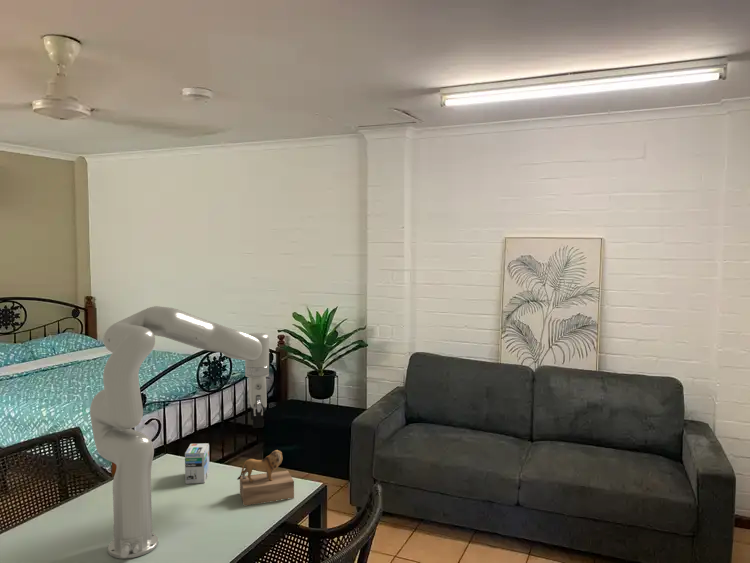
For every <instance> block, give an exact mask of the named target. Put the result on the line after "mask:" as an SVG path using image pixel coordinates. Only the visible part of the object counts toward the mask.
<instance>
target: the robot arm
mask: <svg viewBox="0 0 750 563" xmlns="http://www.w3.org/2000/svg"><path fill="white" fill-rule="evenodd" d="M155 336H157V337H162V338H166V339H169V340H172V341H176V342H177V343H182V344H184V345H188V346H191V347H193V348H197V349H201V350H204V351H208V352H216V353H221V354H223V356H225V357H227V358H229V359H234V360H241V361H245V362H244V364H245V371H244V375H245V377H247V378H248V394H249V395H248V396H249V404H250V406H251V407H250V420H252V428H253V429H260V428H264V410H263V408H267V405H268V403H267V401H268V400H267V399H268V398H267V396H268V395H267V378H268V377H269V375H270V337H269V336H270V335H268V334H267V333H263V332H252V333H245V332H242V331H240V330H236V329H233V328H230V327H227V326H225V325H222V324H218V323H216V322H213V321H211V320H207V319H205V318H202V317H198V316H196V315H194V314H191V313H188V312H186V311H182V310H180V309H178V308H173V307H168V306H160V305H159V306H158V305H155V306H154V305H153V306H149V307H147V308H145V309H143V310H141V311H138V312H136V313H134V314H132V315H130V316H128V317H125V318H123V319H121V320H118V321H116V322H115V323H113V324H112V325H110V326H109V327H108V328H107V329H106V330H105V332H104V335H103V338H102V339H103V345H104V346H105V348H106V350H108V351H109V352H110V353H111V355H110V356H109V357H108V359H107V361H106V363H105V365H104V368H103V375H102V379H103V389H102V390H100V391H98V392H97V393H96V395H95V396H94V397H93V398H92V400H91V404H90V408H89V416H90V421H91V426H92V427H91V428H92V434H93V440H94V444H95V448H96V451H97V453H98V454H99V456H100V457H101V458H102V459H104V460H107V461H108V462H111V463H113V464H115V466H116V469H115V473H114V476H113V480H112V496H113V497H112V501H113V502H112V505H113V540H111V542H109V544H108V545H107V553H108V555H110V556H111V557H113V558H116V559H132V558H137V557H141V556H143V555H144V556H145V555H146V554H148V553H150V552H152V551H154V550H155V549H156V547H157V546H158V544H159V537H158V536H157V535H156V534H155V533H153V518H152V516H153V515H152V514H153V512H152V468H153V467H152V466H153V460H154V454H155V447H154V444H153V441H152V439H151V438H150V437H149V436H148V435H147V434H145V433H143V432H140V431H138V430H135V429H134V428H136V427H138V426H139V425H140V423H141V422H142V420H143V418H144V417H143V416H144V407H143V400H142V395H141V394H142V393H141V388H140V382H139V374H140V373H139V372H140V368H141V366H142V365H143V363H144V361H145V360H146V358H147V357H148V356H149V355H150V354H151V352H153V349H154V347H155V344H156V337H155Z"/></svg>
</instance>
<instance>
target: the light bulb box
mask: <svg viewBox="0 0 750 563" xmlns="http://www.w3.org/2000/svg"><path fill="white" fill-rule="evenodd" d="M184 471H185V472H184V473H185V481H184V482H185V484H187V485H188V484H204V483H205V482H206V481H207V478H208V477H209V475H210V443H209V442H208V443H206V442H205V443H190V444H189V446H188V448H187V449H186V451H185V452H184Z"/></svg>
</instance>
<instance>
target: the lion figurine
mask: <svg viewBox="0 0 750 563" xmlns="http://www.w3.org/2000/svg"><path fill="white" fill-rule="evenodd" d="M282 462H283V452H282V451H281V450H278V449H275V450H273V451H272V452H271V453H270V454H269V455H267V456H265V457H264V458H263V459H255V458H249V459H247V460H245V461H244V463H243V465H242V467H241V472H240V474H239V476H238V478H237V479H236V480H237V481H238V480H239V481H240V478H241V476H242V478H247V477H248V478H249V481H250V482H253V481H254V480H253V479H251V475H252V473H253V470H255V471H257V472H266V473H267V477H268V479H269V480H270V481H272V480H273V479H272V478H271V474H272V472H273V471H275V470H276V471H277V469H278V468H279V466H280V465H282ZM246 474H247V475H246ZM246 476H247V477H246Z"/></svg>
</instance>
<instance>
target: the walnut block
mask: <svg viewBox="0 0 750 563" xmlns="http://www.w3.org/2000/svg"><path fill="white" fill-rule="evenodd" d="M245 476H246V477H247V476H248V475H245ZM271 478H272V479H273V480H272V481H270V480H269V479H268V477H267V472H264V473H257V474H251V479H253V480H254V481H253V482H250V481H249V478H248V477H247V478H242V476H241V478H240V479H239V495H240V499H241V500H242V501H243V502H242V505H243V504H244V505H245V506H252V505H257V504H258V503H259V504H264V502H266V503H271V502H270V501H273V502H277V501H276V500H280V501H282V500H281V499H287V500H289V499H288V498H294V499H295V480H294V478H292V475H291V473H290V472H289V470H281V471H280V470H279V471H274V472H273V471H272V474H271ZM251 504H252V505H251ZM244 505H243V506H244Z"/></svg>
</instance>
